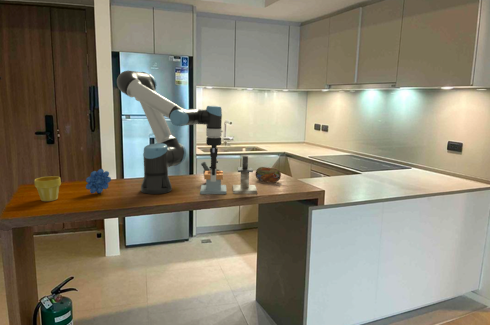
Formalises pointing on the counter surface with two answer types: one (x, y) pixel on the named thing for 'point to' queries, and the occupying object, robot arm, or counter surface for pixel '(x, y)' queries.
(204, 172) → the mortar and pestle
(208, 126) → the robot arm
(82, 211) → the counter surface
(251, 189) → the post stand
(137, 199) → the counter surface
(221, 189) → the block
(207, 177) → the link
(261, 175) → the tin
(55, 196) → the plant pot
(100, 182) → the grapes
